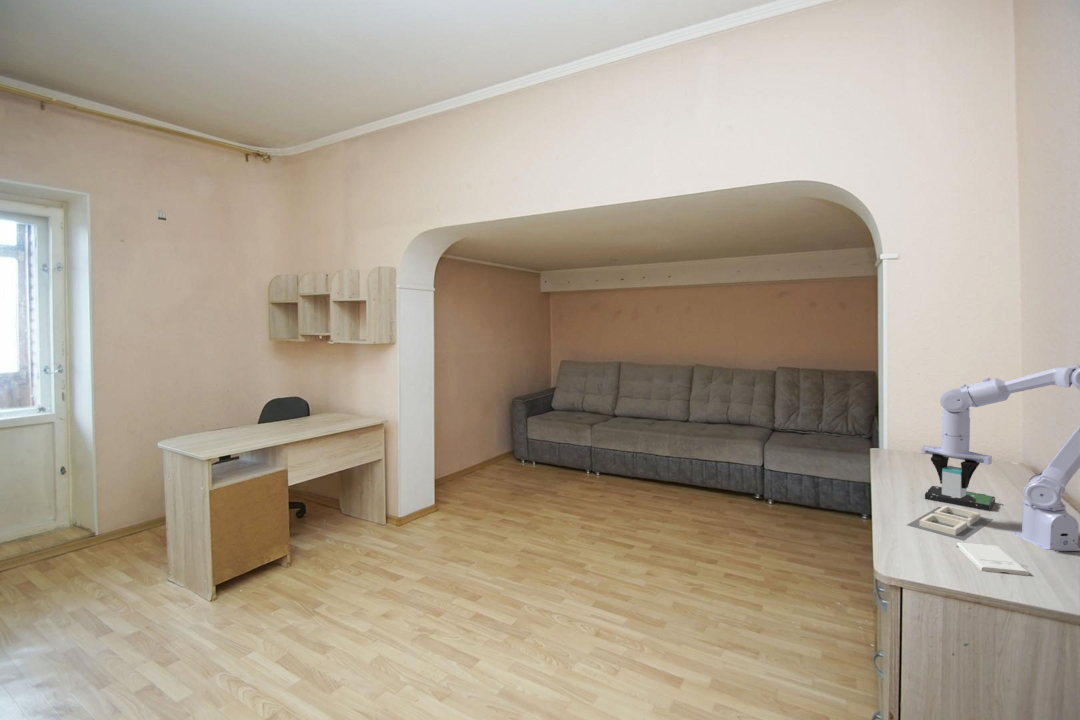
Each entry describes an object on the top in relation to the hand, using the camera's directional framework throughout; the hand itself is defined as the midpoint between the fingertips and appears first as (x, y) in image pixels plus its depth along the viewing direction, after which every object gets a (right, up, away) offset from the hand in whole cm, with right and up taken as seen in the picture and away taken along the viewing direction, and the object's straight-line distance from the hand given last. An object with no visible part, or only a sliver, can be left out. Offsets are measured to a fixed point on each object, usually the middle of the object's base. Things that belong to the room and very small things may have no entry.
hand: (954, 485), depth 135 cm
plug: (0, -3, 0) cm, 3 cm away
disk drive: (+13, -9, +15) cm, 22 cm away
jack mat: (-1, -10, -1) cm, 10 cm away
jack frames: (-1, -10, -1) cm, 10 cm away
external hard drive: (-8, -13, -20) cm, 25 cm away
